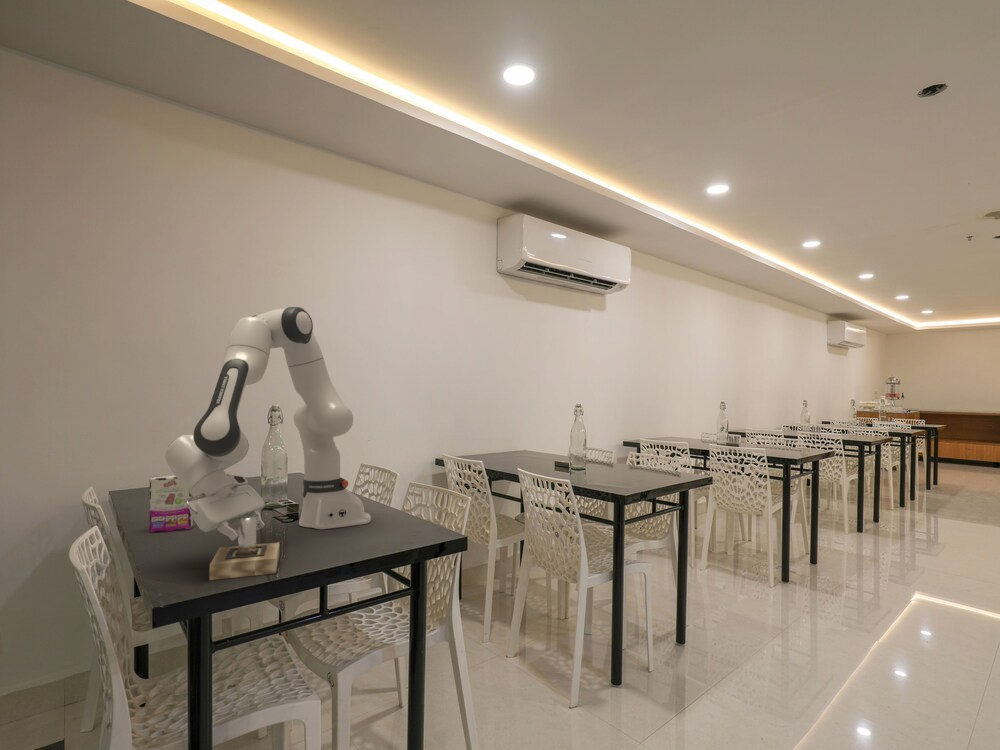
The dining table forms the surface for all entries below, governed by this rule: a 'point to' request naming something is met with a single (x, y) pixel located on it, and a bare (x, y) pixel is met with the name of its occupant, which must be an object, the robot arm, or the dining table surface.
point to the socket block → (244, 562)
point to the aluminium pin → (247, 535)
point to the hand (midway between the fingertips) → (249, 532)
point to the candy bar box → (169, 505)
